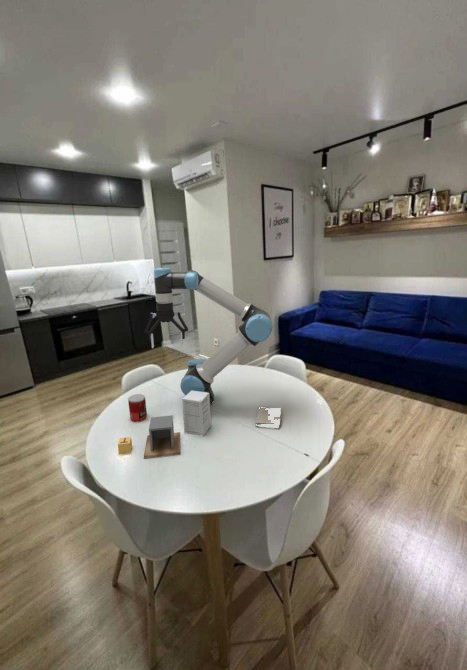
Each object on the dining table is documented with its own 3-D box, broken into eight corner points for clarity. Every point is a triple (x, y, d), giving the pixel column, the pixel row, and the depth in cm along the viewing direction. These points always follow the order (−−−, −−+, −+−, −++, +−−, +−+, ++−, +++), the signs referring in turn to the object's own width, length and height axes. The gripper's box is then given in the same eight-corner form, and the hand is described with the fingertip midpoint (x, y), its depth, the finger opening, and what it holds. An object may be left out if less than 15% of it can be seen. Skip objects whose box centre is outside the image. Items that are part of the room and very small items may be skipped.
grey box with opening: (174, 436, 131) (172, 415, 128) (173, 448, 122) (172, 426, 119) (152, 438, 129) (150, 417, 126) (150, 451, 121) (148, 429, 118)
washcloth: (254, 428, 138) (254, 422, 138) (258, 409, 155) (258, 404, 155) (281, 431, 137) (281, 424, 136) (281, 411, 154) (281, 405, 153)
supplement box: (211, 425, 140) (210, 392, 136) (203, 436, 132) (201, 401, 128) (192, 422, 144) (191, 389, 139) (183, 432, 135) (181, 398, 131)
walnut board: (180, 434, 134) (180, 432, 133) (180, 454, 120) (179, 451, 120) (147, 437, 131) (147, 435, 131) (143, 458, 118) (143, 456, 118)
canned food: (142, 423, 143) (140, 401, 140) (127, 421, 145) (124, 400, 142) (149, 414, 150) (148, 394, 148) (135, 413, 152) (133, 393, 149)
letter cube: (132, 446, 126) (131, 436, 125) (130, 452, 122) (129, 443, 121) (120, 447, 125) (119, 437, 124) (118, 454, 121) (117, 444, 120)
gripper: (191, 300, 144) (193, 342, 150) (137, 301, 140) (141, 345, 146) (192, 302, 137) (194, 347, 142) (135, 304, 133) (139, 350, 138)
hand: (167, 346), depth 144 cm, fingers open, 13 cm apart
